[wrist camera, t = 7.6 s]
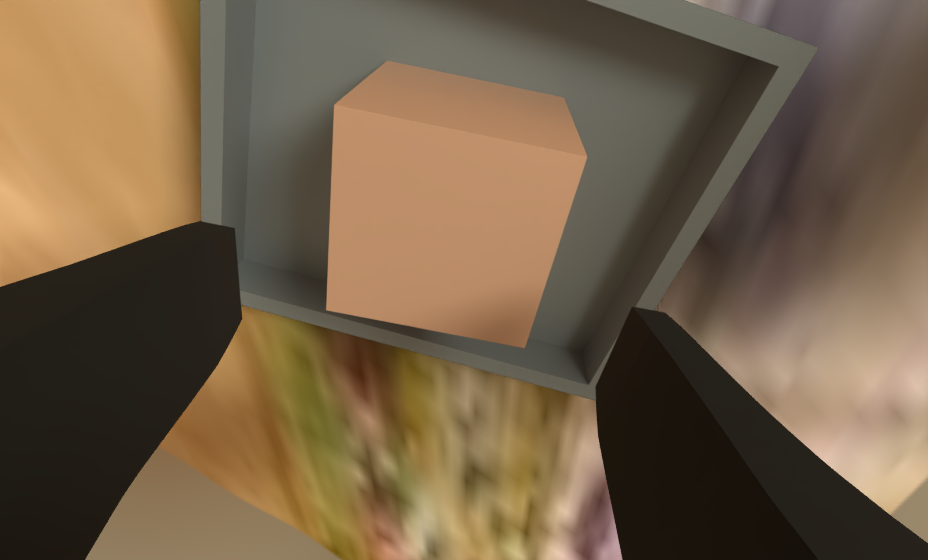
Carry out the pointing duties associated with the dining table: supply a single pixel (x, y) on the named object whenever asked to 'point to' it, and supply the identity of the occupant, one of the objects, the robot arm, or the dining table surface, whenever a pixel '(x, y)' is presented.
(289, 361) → the dining table surface
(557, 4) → the tray
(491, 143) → the terracotta block
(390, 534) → the dining table surface
